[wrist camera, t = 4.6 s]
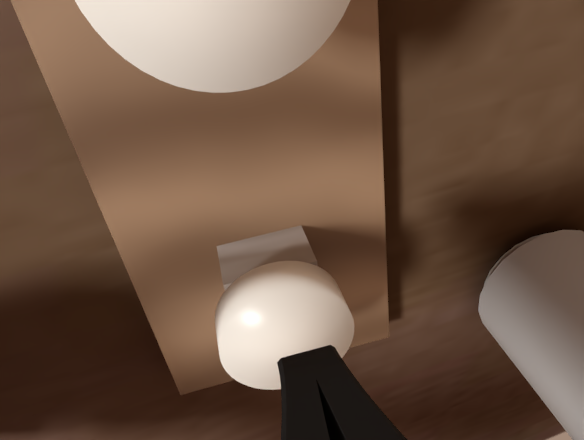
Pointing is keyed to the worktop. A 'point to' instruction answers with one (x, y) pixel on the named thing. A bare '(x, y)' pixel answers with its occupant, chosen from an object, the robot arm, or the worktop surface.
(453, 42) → the worktop surface
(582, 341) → the can
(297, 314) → the plunger
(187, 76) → the plunger
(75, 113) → the stand
